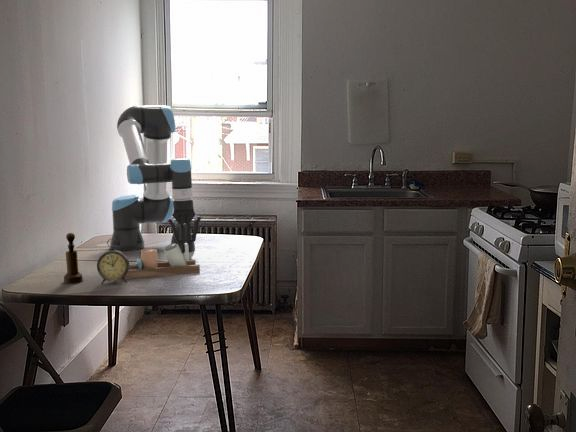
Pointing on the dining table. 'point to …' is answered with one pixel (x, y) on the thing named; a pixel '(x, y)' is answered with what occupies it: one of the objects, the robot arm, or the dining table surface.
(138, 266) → the pusher
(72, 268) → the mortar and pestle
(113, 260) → the alarm clock
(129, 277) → the lane
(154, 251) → the jar in lane
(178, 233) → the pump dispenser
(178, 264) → the jar
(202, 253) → the dining table surface
